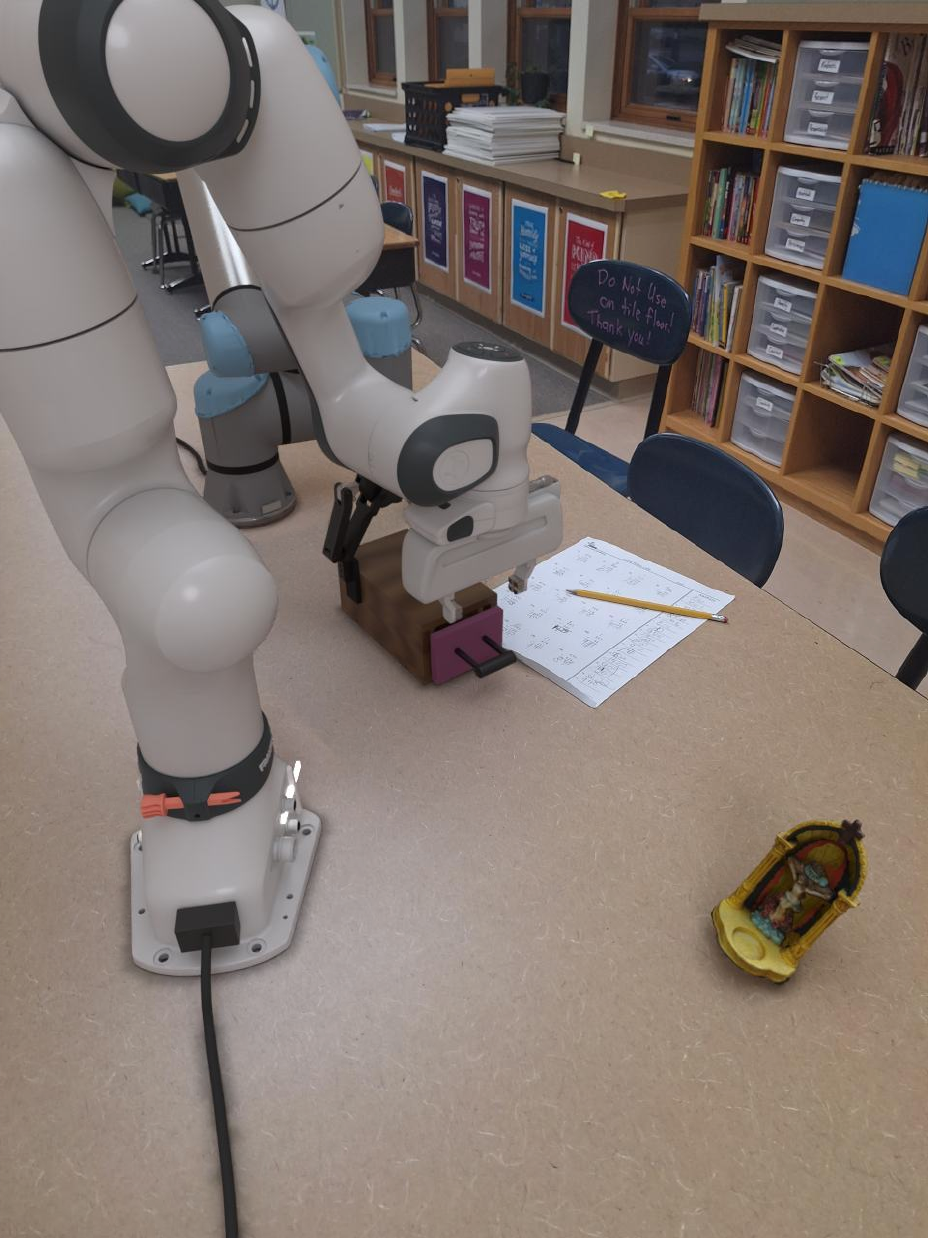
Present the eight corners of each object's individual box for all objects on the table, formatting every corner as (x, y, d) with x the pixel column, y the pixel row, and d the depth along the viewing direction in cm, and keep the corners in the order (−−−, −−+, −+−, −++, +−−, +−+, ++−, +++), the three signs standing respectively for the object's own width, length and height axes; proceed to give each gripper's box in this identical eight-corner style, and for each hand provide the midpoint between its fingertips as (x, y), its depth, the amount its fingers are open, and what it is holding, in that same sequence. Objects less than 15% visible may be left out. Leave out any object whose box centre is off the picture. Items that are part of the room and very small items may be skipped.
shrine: (791, 892, 81) (830, 781, 73) (851, 966, 75) (901, 853, 66) (686, 929, 78) (714, 817, 69) (739, 1009, 72) (776, 896, 63)
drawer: (531, 678, 106) (534, 632, 102) (465, 710, 101) (465, 663, 97) (418, 588, 122) (417, 545, 118) (357, 613, 118) (353, 569, 113)
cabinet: (496, 651, 112) (497, 593, 107) (424, 685, 107) (421, 625, 101) (409, 582, 126) (407, 528, 120) (341, 609, 120) (336, 553, 115)
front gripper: (542, 460, 98) (536, 563, 106) (390, 513, 88) (397, 622, 96) (579, 480, 94) (571, 586, 102) (425, 538, 84) (429, 650, 92)
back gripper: (445, 402, 113) (447, 546, 125) (281, 447, 101) (301, 600, 114) (480, 420, 108) (478, 568, 120) (311, 470, 96) (329, 627, 109)
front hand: (485, 604), depth 99 cm, fingers open, 8 cm apart
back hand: (392, 584), depth 117 cm, fingers closed on cabinet, 11 cm apart
